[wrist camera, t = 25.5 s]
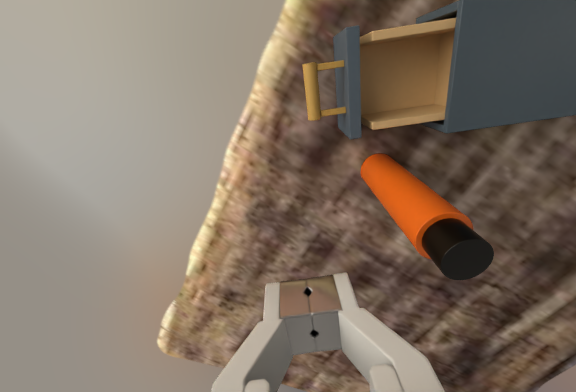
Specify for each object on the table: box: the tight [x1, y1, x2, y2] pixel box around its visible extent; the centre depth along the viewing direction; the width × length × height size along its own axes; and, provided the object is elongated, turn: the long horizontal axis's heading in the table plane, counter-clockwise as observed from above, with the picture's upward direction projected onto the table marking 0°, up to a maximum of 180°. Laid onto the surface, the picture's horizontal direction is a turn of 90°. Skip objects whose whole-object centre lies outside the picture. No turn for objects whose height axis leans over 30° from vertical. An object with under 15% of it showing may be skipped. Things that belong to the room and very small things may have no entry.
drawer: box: [303, 18, 456, 139], centre depth 28 cm, size 16×10×7 cm, turn 98°
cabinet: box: [416, 0, 576, 133], centre depth 28 cm, size 13×11×8 cm
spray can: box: [361, 153, 494, 280], centre depth 28 cm, size 5×5×20 cm
